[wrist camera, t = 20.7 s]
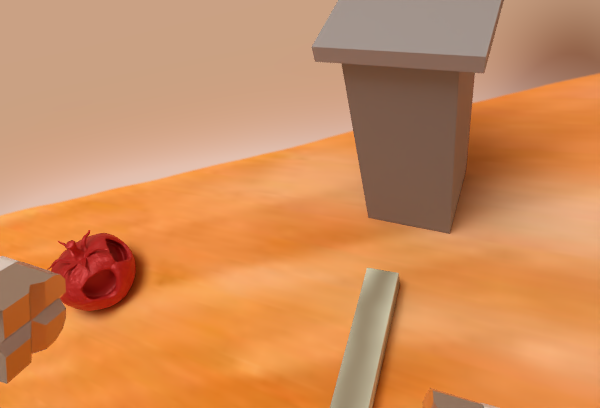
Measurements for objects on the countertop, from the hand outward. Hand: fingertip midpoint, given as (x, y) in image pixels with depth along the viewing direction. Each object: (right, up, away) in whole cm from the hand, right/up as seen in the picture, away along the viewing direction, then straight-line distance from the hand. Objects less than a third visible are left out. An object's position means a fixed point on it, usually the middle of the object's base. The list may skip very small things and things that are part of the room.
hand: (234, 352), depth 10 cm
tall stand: (+16, +4, +51) cm, 54 cm away
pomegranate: (-24, -8, +53) cm, 59 cm away
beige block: (+8, -14, +40) cm, 43 cm away
